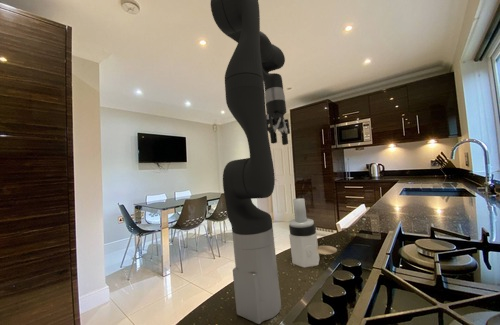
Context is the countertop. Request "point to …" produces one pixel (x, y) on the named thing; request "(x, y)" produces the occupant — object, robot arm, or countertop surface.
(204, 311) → the countertop surface
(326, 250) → the disc
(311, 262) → the jar
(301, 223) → the lid
